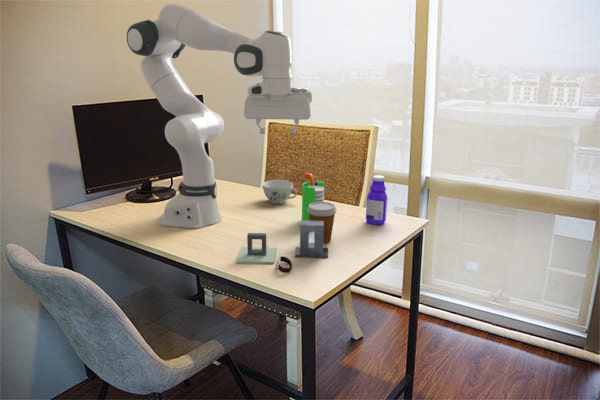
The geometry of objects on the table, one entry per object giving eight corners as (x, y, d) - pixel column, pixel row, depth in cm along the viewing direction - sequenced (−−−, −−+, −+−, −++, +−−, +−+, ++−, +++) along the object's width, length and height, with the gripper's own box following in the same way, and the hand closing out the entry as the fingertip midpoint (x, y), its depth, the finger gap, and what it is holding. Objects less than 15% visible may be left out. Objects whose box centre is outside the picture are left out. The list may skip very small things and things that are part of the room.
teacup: (256, 203, 195) (256, 185, 193) (272, 196, 206) (271, 178, 204) (289, 209, 189) (289, 189, 186) (303, 200, 200) (303, 182, 197)
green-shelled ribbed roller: (321, 226, 170) (322, 177, 165) (299, 225, 172) (299, 176, 166) (325, 218, 179) (326, 171, 173) (304, 216, 180) (304, 170, 175)
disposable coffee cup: (326, 248, 152) (327, 212, 148) (301, 242, 156) (301, 207, 153) (340, 238, 159) (341, 204, 156) (315, 233, 164) (316, 199, 161)
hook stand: (293, 270, 136) (293, 237, 133) (295, 249, 150) (295, 219, 148) (328, 270, 136) (329, 238, 133) (327, 250, 150) (328, 219, 147)
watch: (275, 263, 141) (275, 252, 140) (291, 263, 141) (291, 251, 140) (276, 275, 134) (276, 263, 132) (293, 274, 134) (293, 262, 133)
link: (247, 255, 145) (247, 235, 143) (248, 252, 146) (248, 233, 145) (265, 255, 144) (265, 235, 142) (266, 252, 146) (266, 233, 144)
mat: (236, 263, 141) (236, 261, 140) (242, 248, 151) (242, 246, 151) (273, 263, 140) (273, 262, 140) (276, 249, 151) (276, 247, 150)
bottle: (387, 221, 175) (390, 175, 170) (383, 226, 170) (386, 179, 165) (368, 218, 178) (370, 173, 173) (363, 223, 173) (366, 177, 168)
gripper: (312, 87, 146) (311, 132, 151) (245, 87, 147) (246, 131, 151) (311, 89, 140) (311, 135, 145) (242, 88, 141) (243, 135, 145)
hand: (277, 133), depth 148 cm, fingers open, 8 cm apart
